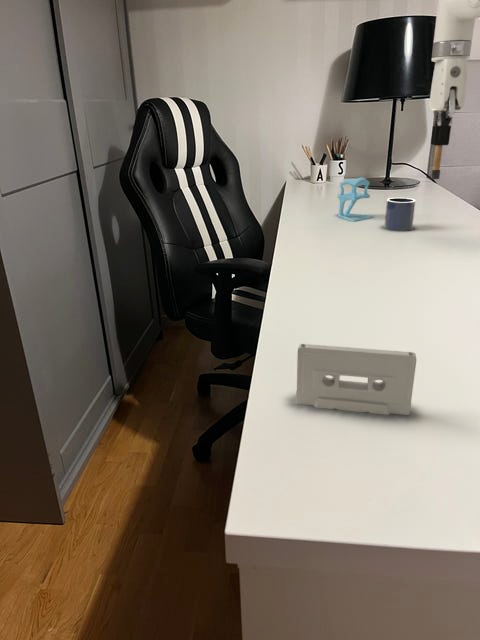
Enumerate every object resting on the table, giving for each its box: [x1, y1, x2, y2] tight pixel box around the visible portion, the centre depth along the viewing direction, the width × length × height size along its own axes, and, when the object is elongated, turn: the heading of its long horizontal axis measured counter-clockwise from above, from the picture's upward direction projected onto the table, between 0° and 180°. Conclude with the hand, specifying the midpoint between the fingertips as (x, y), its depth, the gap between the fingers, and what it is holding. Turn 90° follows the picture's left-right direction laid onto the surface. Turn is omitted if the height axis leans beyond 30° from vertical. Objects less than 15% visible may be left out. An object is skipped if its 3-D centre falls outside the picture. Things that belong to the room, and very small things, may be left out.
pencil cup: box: [383, 197, 416, 232], centre depth 130 cm, size 7×7×8 cm
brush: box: [430, 145, 444, 180], centre depth 113 cm, size 2×2×13 cm
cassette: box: [295, 343, 417, 416], centre depth 53 cm, size 12×2×8 cm, turn 77°
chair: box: [337, 177, 372, 222], centre depth 144 cm, size 8×8×12 cm
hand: (439, 144), depth 113 cm, fingers closed on brush, 1 cm apart
